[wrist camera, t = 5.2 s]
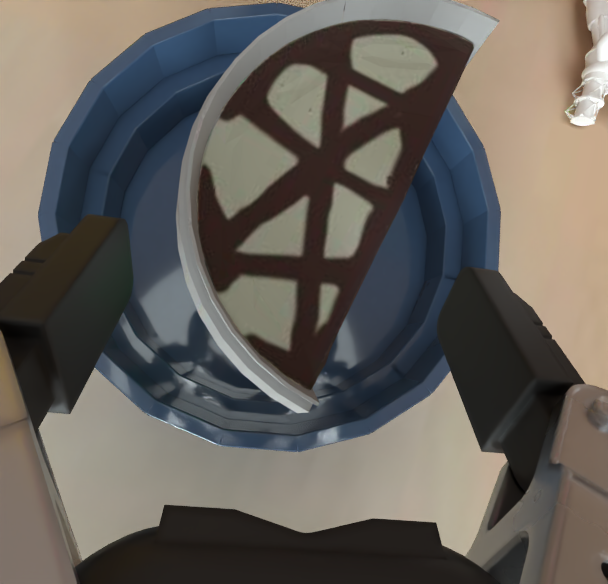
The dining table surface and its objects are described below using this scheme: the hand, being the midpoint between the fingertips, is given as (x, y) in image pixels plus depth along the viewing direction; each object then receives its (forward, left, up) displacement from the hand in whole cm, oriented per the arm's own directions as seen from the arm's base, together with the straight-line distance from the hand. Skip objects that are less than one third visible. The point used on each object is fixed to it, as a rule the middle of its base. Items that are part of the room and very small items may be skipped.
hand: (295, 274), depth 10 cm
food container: (0, +3, -10) cm, 10 cm away
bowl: (0, +3, -10) cm, 11 cm away
